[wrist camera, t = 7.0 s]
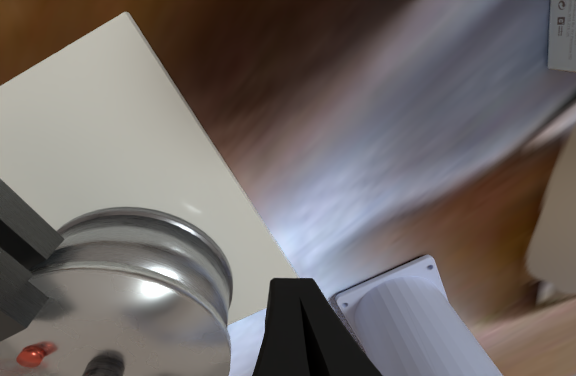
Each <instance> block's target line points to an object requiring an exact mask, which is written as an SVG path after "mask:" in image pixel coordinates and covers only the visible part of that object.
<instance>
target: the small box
mask: <svg viewBox="0 0 576 376" xmlns="http://www.w3.org/2000/svg"><path fill="white" fill-rule="evenodd" d="M548 68H549V69H553V70H561V71H569V72H576V0H551V3H550V23H549V46H548Z"/></svg>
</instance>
